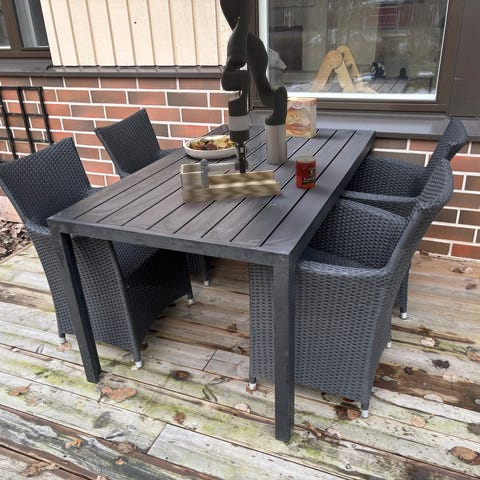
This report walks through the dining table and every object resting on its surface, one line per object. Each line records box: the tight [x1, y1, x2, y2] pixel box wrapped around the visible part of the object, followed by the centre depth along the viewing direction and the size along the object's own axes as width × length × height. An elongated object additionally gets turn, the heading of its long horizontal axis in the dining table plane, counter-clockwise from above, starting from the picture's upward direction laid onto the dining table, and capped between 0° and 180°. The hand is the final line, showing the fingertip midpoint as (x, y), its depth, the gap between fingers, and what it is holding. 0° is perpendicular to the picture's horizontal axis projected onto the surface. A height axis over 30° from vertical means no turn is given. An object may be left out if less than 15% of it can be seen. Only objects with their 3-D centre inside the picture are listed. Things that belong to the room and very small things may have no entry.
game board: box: [179, 162, 282, 204], centre depth 183 cm, size 36×16×10 cm, turn 95°
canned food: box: [294, 155, 317, 190], centre depth 184 cm, size 8×8×11 cm
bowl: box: [183, 134, 246, 160], centre depth 237 cm, size 30×30×8 cm
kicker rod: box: [199, 159, 251, 189], centre depth 182 cm, size 18×4×11 cm, turn 95°
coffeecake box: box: [286, 96, 317, 139], centre depth 253 cm, size 15×7×20 cm, turn 55°
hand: (241, 169), depth 182 cm, fingers open, 8 cm apart
